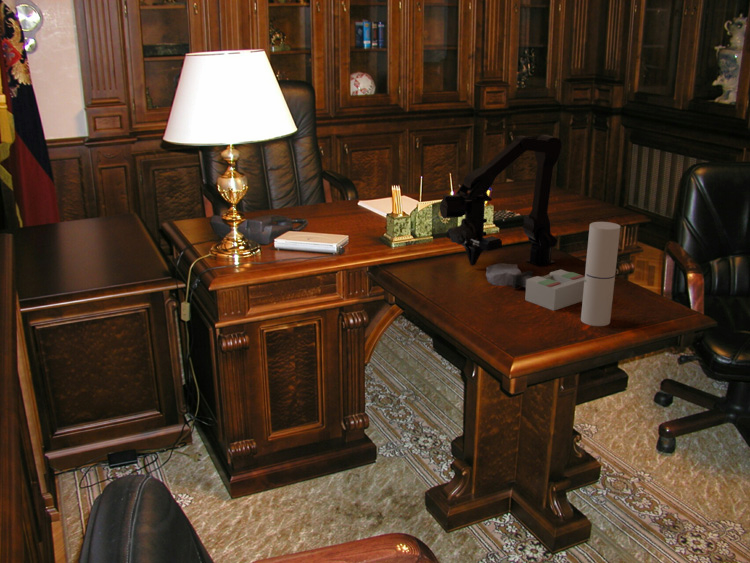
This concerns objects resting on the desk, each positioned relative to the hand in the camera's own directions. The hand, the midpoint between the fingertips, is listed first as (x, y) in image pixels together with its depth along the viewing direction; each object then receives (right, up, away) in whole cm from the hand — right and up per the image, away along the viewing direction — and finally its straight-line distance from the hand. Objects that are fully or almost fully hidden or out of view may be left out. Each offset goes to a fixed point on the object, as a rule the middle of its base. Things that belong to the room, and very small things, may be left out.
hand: (472, 265), depth 226 cm
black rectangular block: (+15, -7, -18) cm, 25 cm away
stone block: (+8, -5, -8) cm, 12 cm away
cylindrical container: (+26, -15, -39) cm, 49 cm away
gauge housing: (+20, -10, -25) cm, 33 cm away
